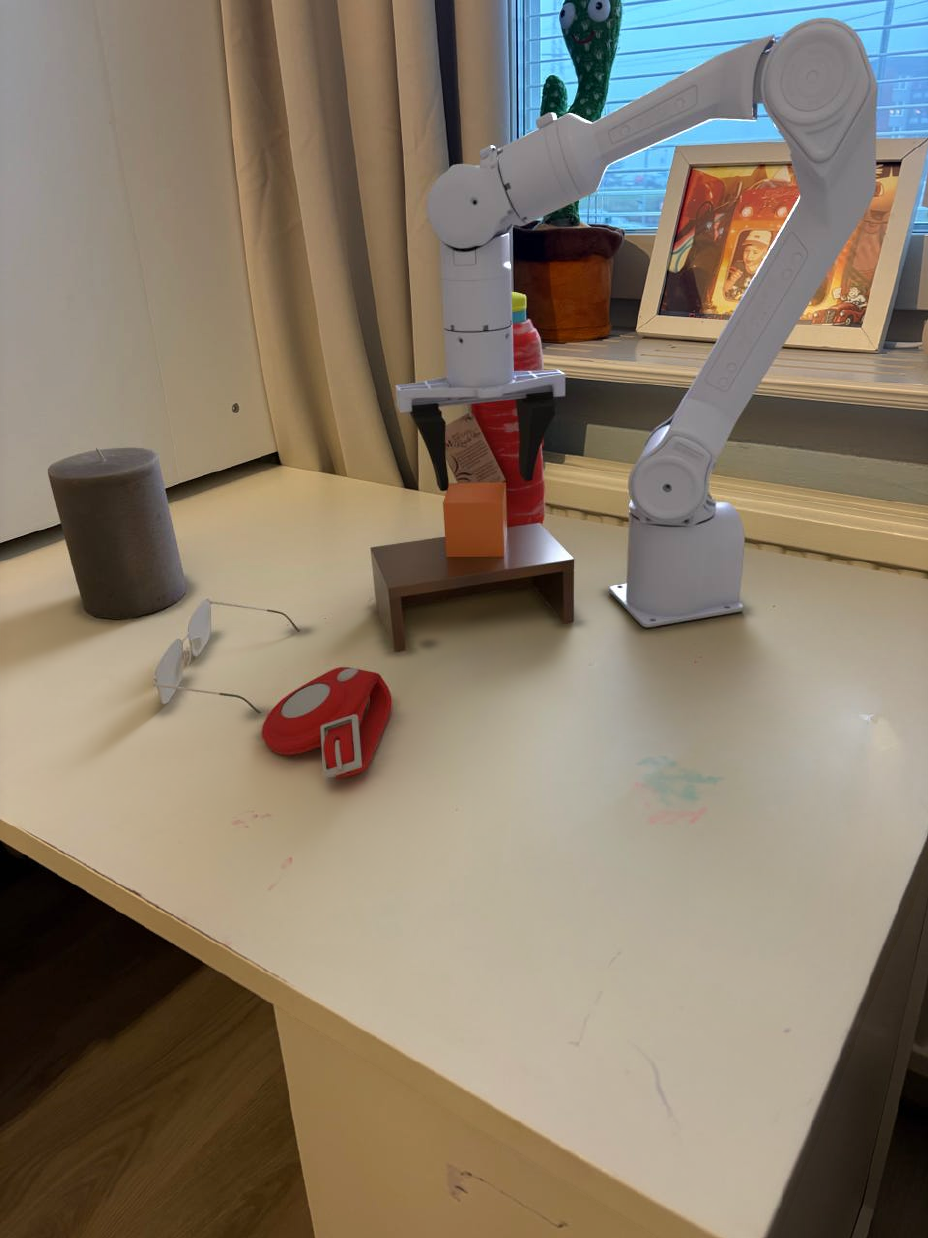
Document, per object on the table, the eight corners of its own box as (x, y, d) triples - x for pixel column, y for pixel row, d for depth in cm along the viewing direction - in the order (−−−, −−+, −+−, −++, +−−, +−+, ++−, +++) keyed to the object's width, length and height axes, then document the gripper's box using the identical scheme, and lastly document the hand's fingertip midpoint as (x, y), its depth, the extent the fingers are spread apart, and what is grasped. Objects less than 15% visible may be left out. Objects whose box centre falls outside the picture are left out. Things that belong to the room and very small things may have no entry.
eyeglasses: (213, 630, 81) (208, 590, 79) (301, 635, 81) (299, 595, 79) (156, 717, 69) (149, 672, 67) (260, 724, 68) (256, 678, 66)
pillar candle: (107, 630, 82) (65, 471, 75) (68, 598, 89) (26, 449, 82) (205, 595, 88) (174, 444, 81) (161, 567, 94) (130, 426, 87)
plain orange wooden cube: (507, 534, 82) (505, 482, 79) (504, 557, 77) (502, 501, 75) (452, 535, 82) (449, 482, 80) (446, 557, 78) (442, 502, 76)
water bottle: (474, 570, 90) (461, 306, 78) (431, 546, 96) (413, 298, 84) (567, 539, 96) (568, 290, 84) (521, 518, 101) (516, 283, 90)
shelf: (540, 581, 87) (540, 522, 84) (574, 621, 79) (574, 558, 76) (376, 607, 84) (370, 547, 81) (394, 652, 76) (388, 587, 73)
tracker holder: (228, 727, 65) (324, 644, 70) (258, 773, 67) (349, 688, 72) (329, 758, 56) (429, 660, 61) (359, 809, 58) (454, 710, 63)
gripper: (398, 342, 70) (412, 506, 77) (576, 326, 73) (575, 487, 79) (387, 327, 77) (400, 481, 83) (551, 313, 79) (552, 463, 85)
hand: (484, 482), depth 81 cm, fingers open, 7 cm apart
